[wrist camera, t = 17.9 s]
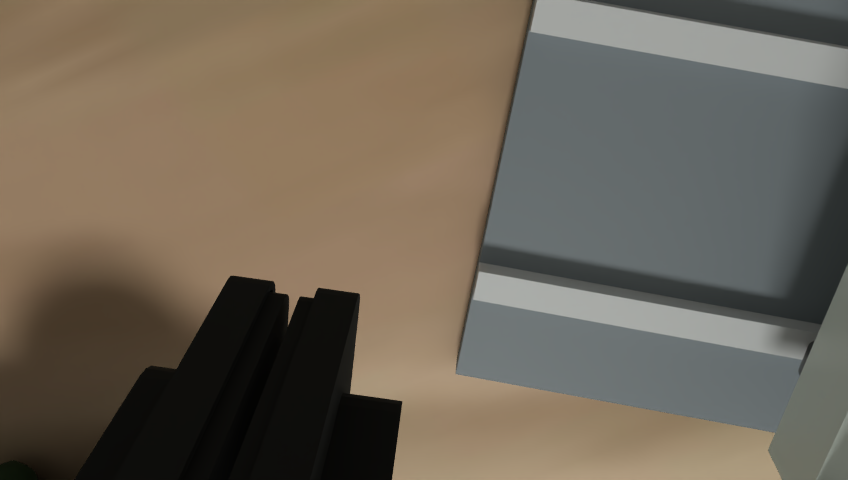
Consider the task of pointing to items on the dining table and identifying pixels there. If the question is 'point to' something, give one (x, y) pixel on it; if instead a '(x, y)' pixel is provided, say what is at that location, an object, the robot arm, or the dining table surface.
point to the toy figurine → (16, 471)
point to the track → (667, 205)
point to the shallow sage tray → (818, 404)
